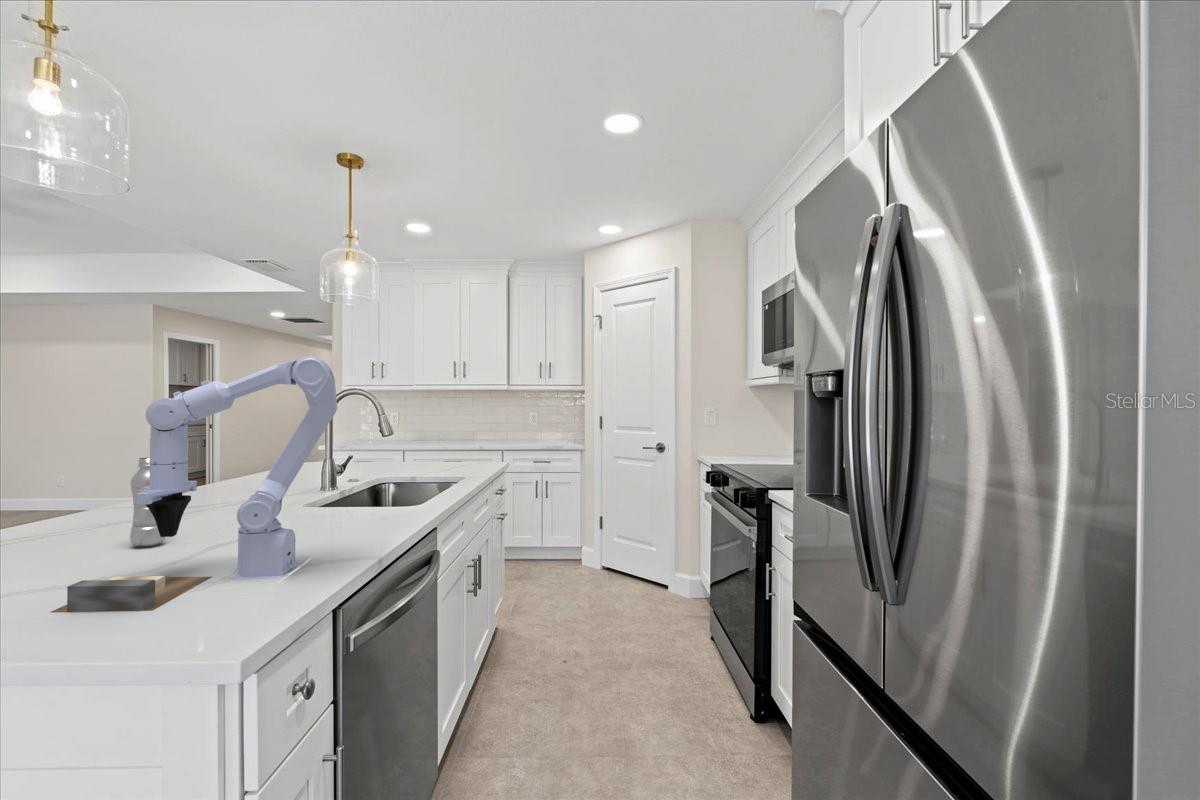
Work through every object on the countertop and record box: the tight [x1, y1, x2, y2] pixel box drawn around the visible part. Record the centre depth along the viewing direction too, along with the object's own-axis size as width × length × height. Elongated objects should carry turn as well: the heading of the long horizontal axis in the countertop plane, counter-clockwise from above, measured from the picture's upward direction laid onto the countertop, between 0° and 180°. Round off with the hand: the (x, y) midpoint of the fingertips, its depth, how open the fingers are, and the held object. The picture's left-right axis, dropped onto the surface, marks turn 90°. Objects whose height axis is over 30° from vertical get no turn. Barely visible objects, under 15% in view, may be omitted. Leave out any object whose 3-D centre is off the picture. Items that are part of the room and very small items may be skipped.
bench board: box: [49, 576, 212, 614], centre depth 99 cm, size 15×17×5 cm
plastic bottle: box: [129, 456, 166, 547], centre depth 131 cm, size 6×7×20 cm
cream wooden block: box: [107, 575, 166, 598], centre depth 97 cm, size 8×5×3 cm, turn 96°
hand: (168, 536), depth 107 cm, fingers closed
